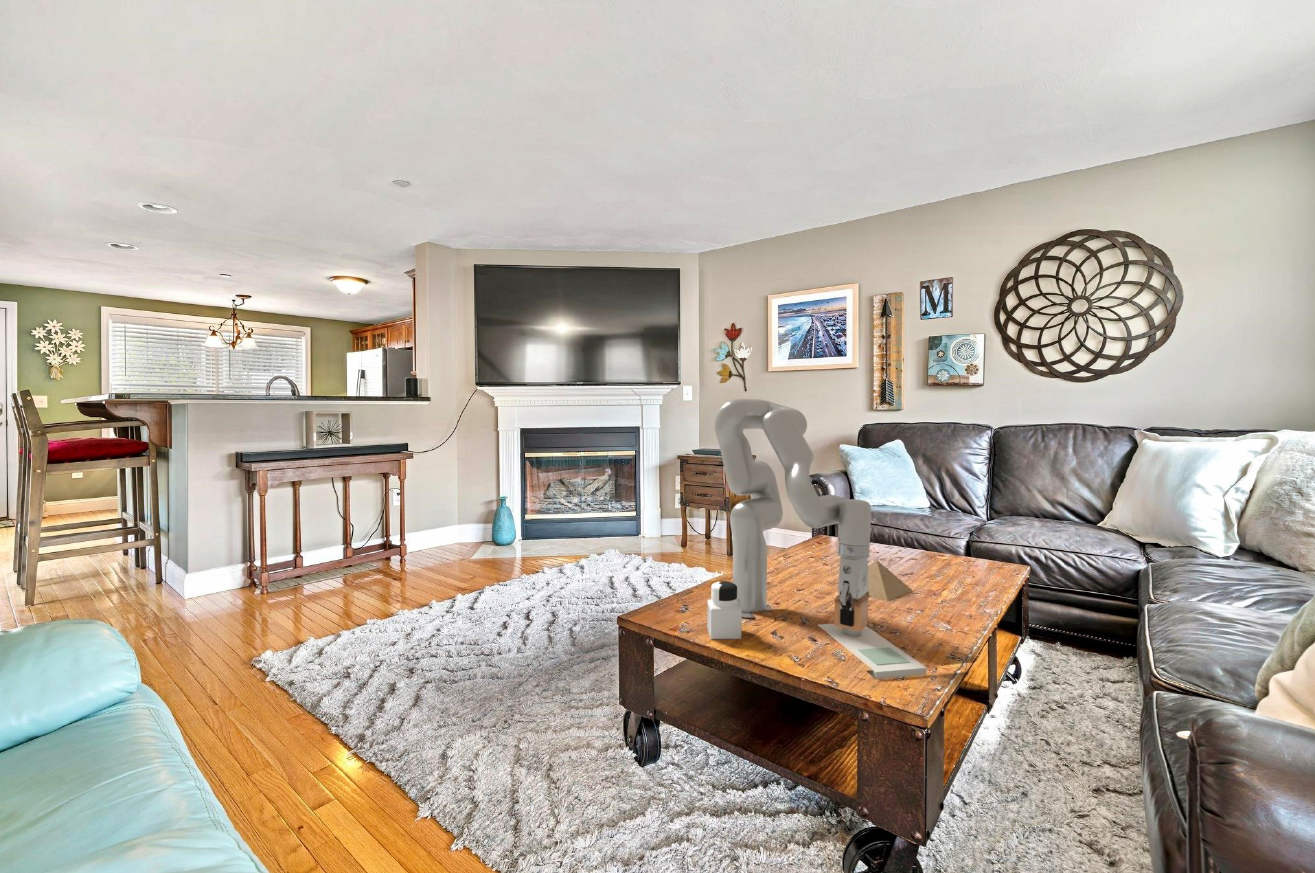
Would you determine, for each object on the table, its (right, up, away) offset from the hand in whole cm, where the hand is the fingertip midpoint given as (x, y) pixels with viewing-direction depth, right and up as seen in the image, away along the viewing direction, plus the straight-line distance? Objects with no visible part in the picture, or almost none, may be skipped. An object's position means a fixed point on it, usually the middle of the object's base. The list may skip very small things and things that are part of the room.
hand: (851, 620), depth 148 cm
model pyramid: (+21, -4, +40) cm, 46 cm away
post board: (+2, -5, -7) cm, 9 cm away
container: (-31, -5, +3) cm, 32 cm away
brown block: (0, -1, 0) cm, 1 cm away
